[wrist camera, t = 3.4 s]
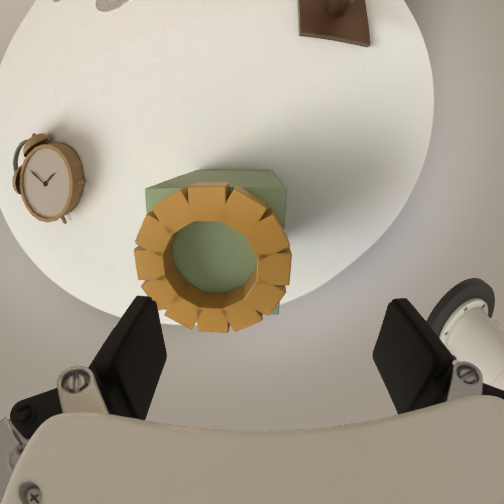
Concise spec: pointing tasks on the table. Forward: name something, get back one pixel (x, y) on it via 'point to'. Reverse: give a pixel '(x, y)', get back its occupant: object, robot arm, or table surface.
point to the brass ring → (235, 216)
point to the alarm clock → (48, 178)
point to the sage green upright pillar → (219, 231)
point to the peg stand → (334, 20)
